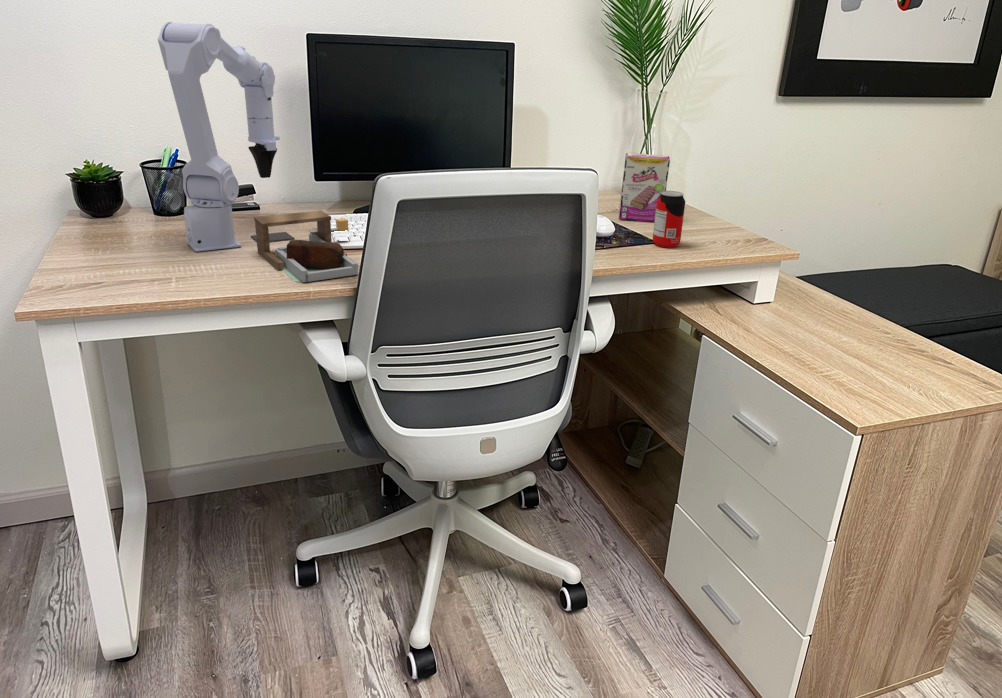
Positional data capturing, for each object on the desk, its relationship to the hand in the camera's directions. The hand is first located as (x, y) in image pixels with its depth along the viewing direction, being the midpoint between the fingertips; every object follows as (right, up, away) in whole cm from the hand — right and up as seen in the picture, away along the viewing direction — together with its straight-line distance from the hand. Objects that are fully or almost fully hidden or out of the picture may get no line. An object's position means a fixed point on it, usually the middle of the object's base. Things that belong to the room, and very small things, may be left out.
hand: (265, 177), depth 184 cm
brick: (+19, -24, -29) cm, 42 cm away
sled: (+20, -22, -23) cm, 38 cm away
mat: (+20, -25, -30) cm, 43 cm away
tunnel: (+14, -21, -22) cm, 34 cm away
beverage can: (+94, -17, -4) cm, 95 cm away
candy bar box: (+92, -7, +18) cm, 94 cm away
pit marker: (+5, -16, -10) cm, 19 cm away
